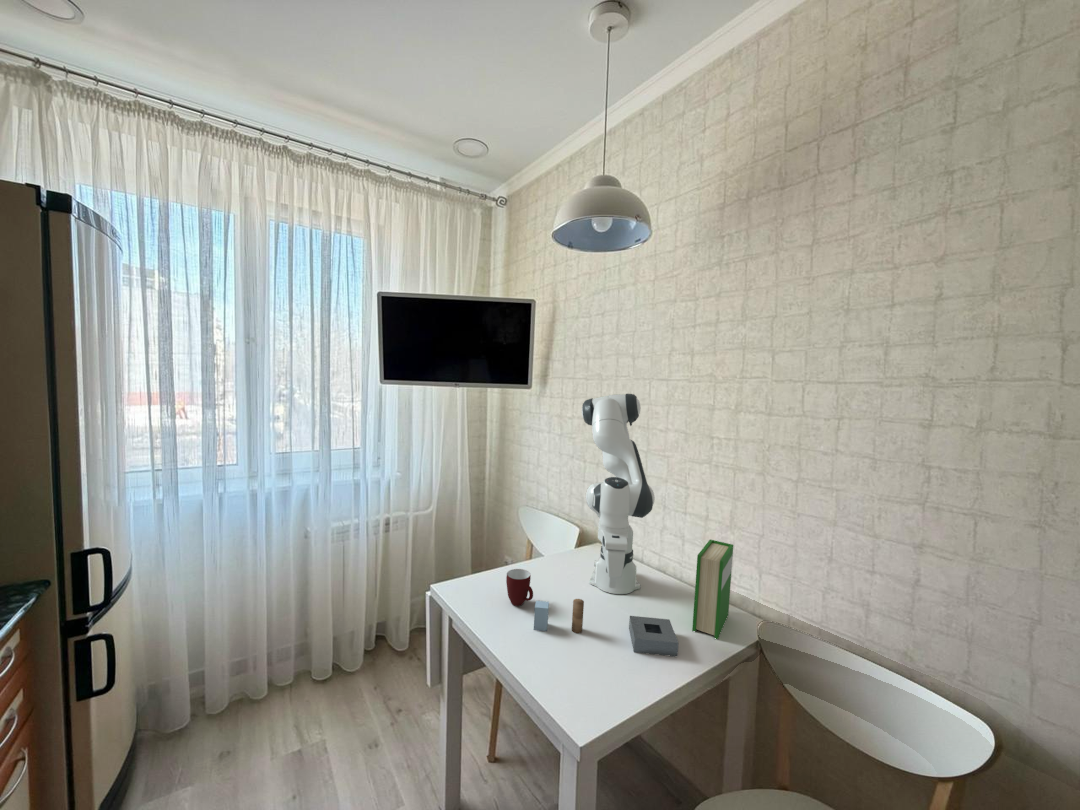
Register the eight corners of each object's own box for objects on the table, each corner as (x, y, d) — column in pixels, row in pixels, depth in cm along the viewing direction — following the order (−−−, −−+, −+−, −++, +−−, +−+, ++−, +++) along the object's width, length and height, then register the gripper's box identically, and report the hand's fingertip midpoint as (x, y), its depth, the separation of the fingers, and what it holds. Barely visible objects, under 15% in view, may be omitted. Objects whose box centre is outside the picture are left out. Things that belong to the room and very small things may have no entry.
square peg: (534, 622, 133) (536, 600, 133) (547, 623, 132) (548, 601, 132) (533, 629, 129) (534, 607, 129) (546, 631, 129) (548, 608, 128)
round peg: (571, 626, 131) (573, 598, 131) (582, 627, 131) (583, 599, 131) (571, 632, 128) (573, 603, 128) (582, 633, 128) (583, 604, 128)
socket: (628, 628, 132) (629, 615, 132) (668, 632, 131) (669, 619, 131) (633, 652, 120) (634, 638, 120) (677, 656, 119) (678, 642, 119)
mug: (540, 604, 144) (541, 575, 143) (526, 614, 137) (527, 584, 137) (514, 594, 150) (516, 566, 149) (500, 603, 143) (501, 574, 142)
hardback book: (717, 640, 128) (723, 561, 127) (692, 631, 133) (697, 555, 131) (728, 615, 143) (733, 544, 142) (705, 607, 147) (710, 539, 146)
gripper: (599, 521, 137) (597, 563, 138) (605, 545, 117) (602, 595, 117) (619, 523, 137) (616, 565, 137) (629, 547, 116) (625, 596, 117)
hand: (610, 579), depth 127 cm, fingers open, 8 cm apart
